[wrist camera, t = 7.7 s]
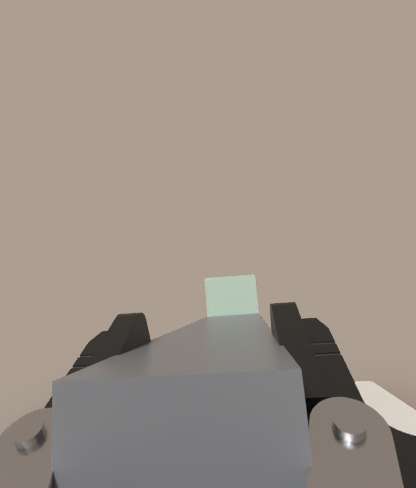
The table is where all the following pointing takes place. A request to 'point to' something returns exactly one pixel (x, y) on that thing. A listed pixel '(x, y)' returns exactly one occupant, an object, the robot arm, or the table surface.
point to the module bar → (188, 407)
